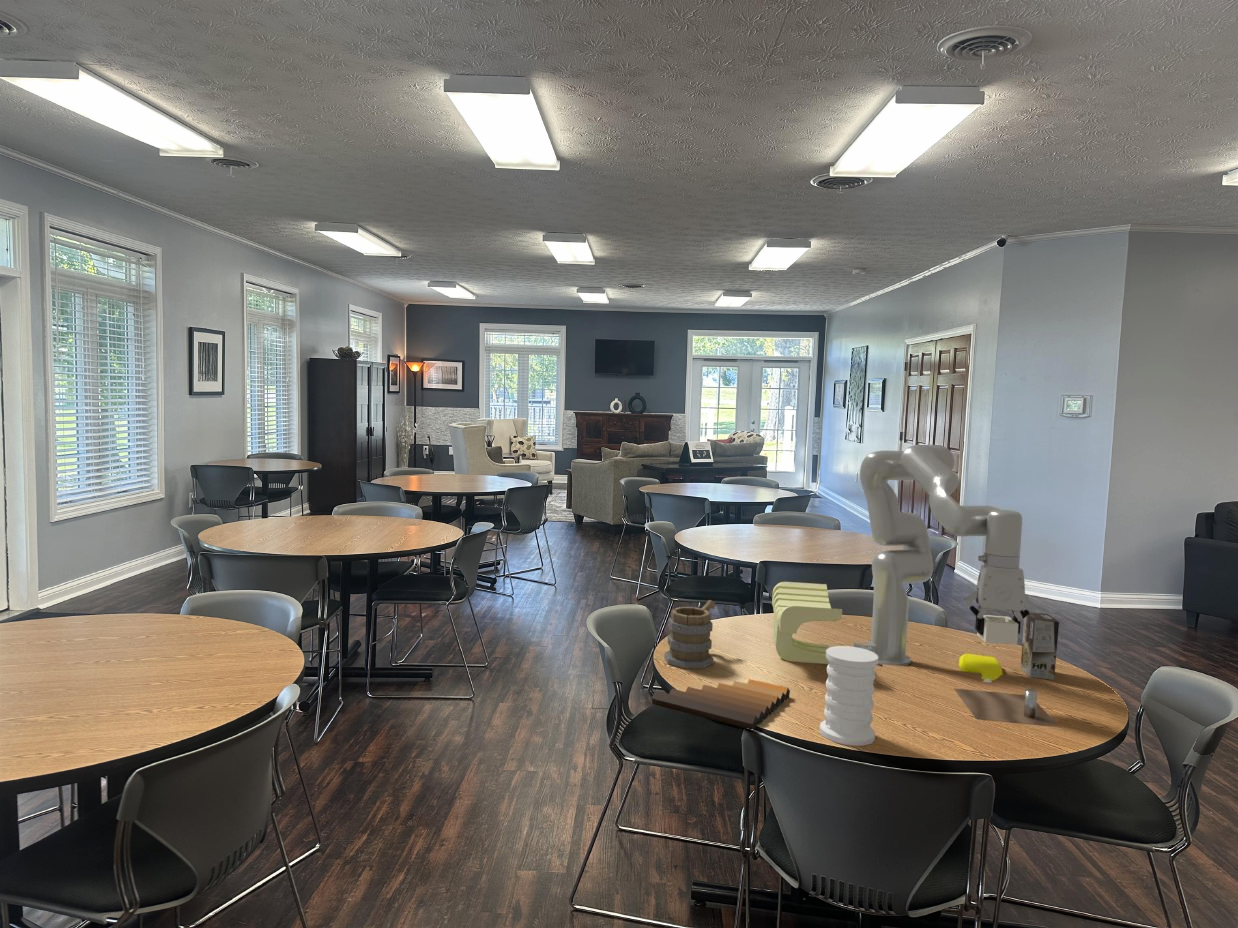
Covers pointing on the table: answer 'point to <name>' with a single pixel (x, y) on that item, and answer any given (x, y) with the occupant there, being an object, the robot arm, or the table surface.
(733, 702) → the pan flute
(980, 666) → the spray bottle
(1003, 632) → the collar
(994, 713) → the board
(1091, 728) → the table surface
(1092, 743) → the table surface
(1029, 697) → the post
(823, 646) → the slatted curved stool
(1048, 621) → the coffee box
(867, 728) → the decorative container
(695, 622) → the tankard
